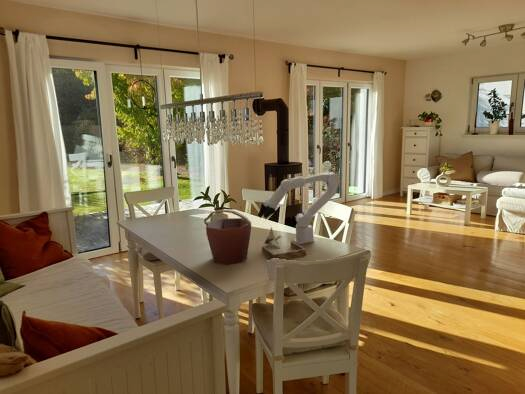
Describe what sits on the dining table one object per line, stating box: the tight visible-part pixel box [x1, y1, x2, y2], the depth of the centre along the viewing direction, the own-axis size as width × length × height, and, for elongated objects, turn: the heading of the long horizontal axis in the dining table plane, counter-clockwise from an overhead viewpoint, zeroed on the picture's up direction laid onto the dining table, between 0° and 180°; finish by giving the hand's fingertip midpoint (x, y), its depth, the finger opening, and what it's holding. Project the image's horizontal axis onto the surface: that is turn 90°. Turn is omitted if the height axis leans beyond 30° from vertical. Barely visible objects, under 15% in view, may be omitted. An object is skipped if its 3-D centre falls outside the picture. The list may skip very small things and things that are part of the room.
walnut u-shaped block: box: [261, 240, 307, 260], centre depth 194 cm, size 18×15×3 cm
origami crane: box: [263, 226, 282, 249], centre depth 205 cm, size 11×10×10 cm
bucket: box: [203, 209, 252, 266], centre depth 188 cm, size 24×22×25 cm
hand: (261, 217), depth 209 cm, fingers open, 7 cm apart
